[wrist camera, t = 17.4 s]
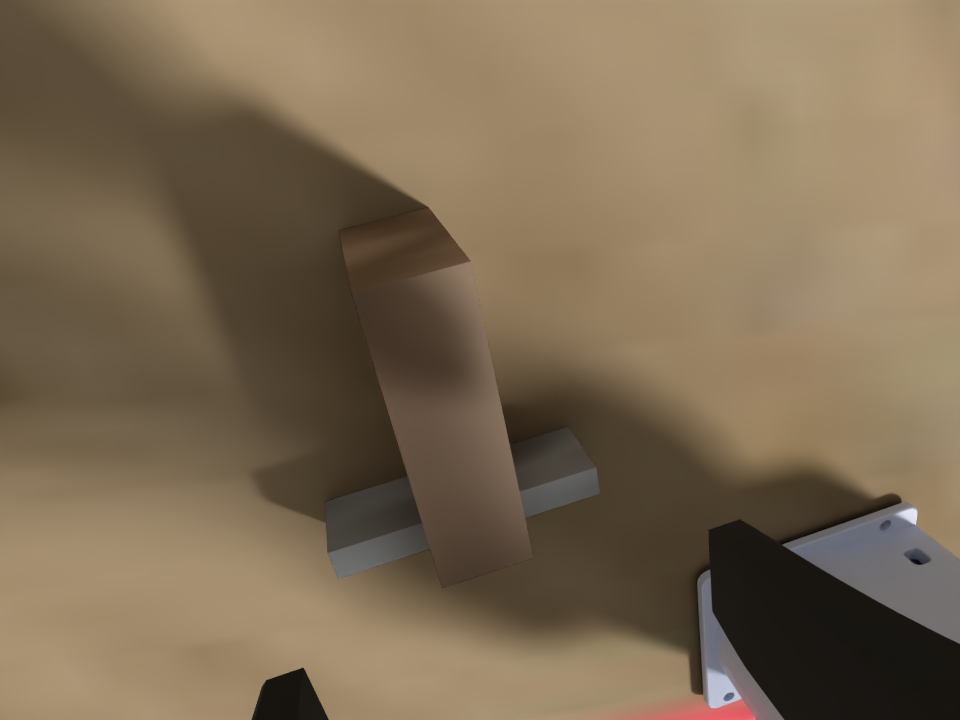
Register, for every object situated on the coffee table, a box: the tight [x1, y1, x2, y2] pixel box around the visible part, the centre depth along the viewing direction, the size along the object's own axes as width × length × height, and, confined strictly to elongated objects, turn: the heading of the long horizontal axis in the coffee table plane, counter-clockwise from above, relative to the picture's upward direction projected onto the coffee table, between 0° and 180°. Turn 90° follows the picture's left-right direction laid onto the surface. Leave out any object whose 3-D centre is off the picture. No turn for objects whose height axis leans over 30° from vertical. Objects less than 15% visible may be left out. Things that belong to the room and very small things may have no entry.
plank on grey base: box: [325, 207, 600, 588], centre depth 17 cm, size 8×9×5 cm
